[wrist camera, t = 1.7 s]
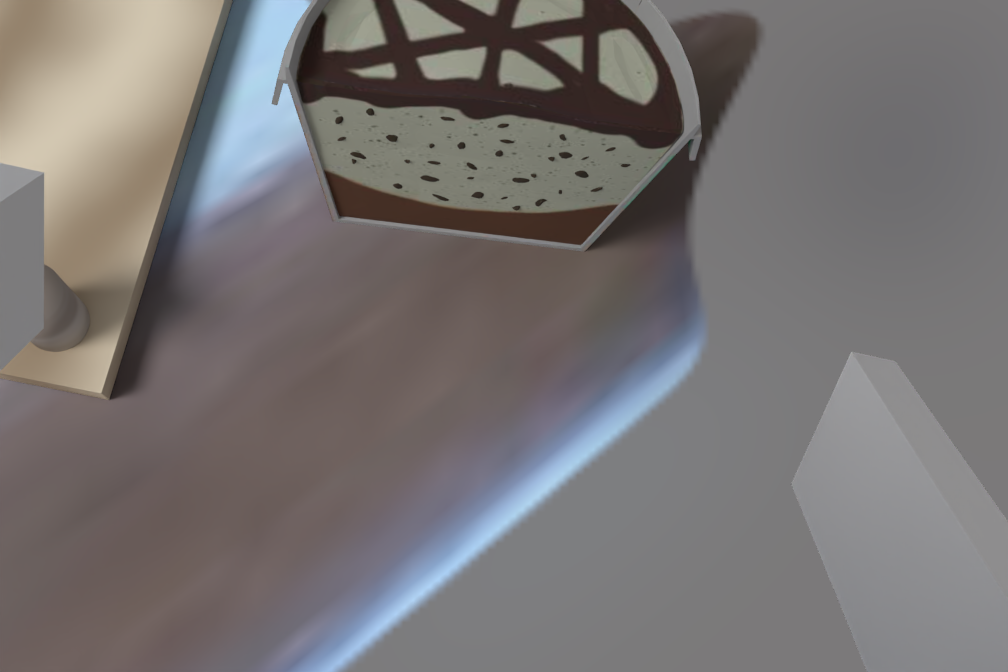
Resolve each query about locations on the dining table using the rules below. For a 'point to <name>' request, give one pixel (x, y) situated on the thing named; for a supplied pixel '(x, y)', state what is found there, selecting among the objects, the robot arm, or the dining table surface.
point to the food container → (489, 112)
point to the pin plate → (99, 160)
